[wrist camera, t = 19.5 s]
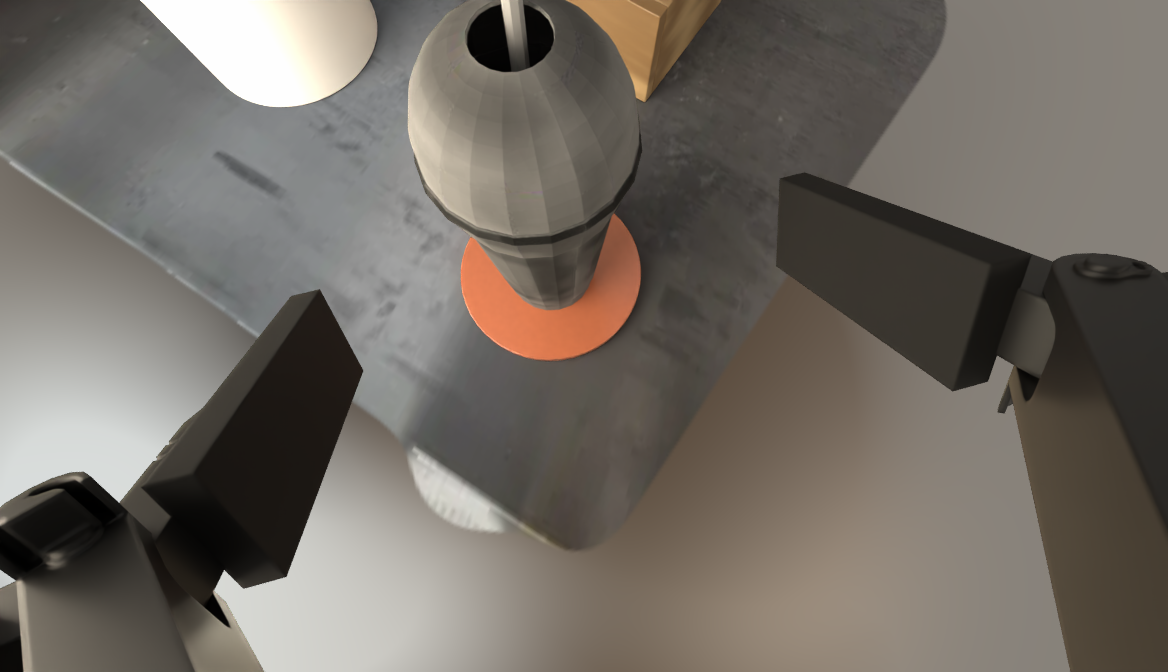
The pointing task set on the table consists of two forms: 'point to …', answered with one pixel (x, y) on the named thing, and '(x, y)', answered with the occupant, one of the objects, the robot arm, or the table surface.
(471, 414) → the table surface
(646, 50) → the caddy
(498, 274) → the coaster
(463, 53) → the beverage cup
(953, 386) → the robot arm
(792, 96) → the table surface
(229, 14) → the tall pillar cylinder
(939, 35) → the table surface
